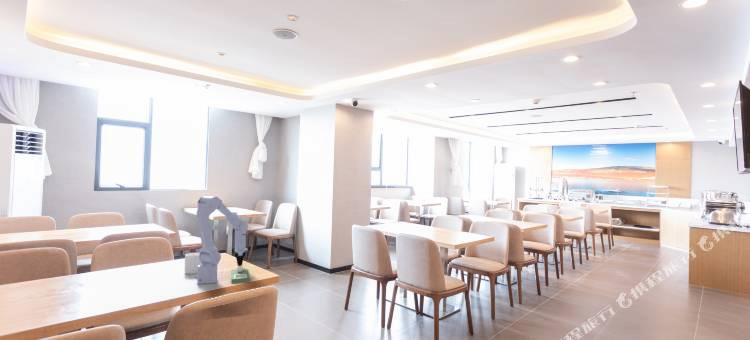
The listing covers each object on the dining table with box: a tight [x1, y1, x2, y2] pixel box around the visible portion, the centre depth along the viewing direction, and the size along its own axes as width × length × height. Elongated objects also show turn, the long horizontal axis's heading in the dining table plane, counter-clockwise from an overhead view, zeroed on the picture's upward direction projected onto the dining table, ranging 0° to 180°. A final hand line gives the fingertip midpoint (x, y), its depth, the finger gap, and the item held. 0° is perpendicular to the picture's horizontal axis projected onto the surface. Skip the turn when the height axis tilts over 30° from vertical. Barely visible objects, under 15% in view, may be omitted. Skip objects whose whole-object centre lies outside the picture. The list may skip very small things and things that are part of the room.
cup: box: [184, 252, 202, 275], centre depth 210 cm, size 8×12×10 cm
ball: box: [236, 265, 245, 272], centre depth 203 cm, size 4×4×4 cm
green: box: [230, 268, 251, 284], centre depth 201 cm, size 9×18×2 cm, turn 21°
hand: (239, 265), depth 210 cm, fingers closed
